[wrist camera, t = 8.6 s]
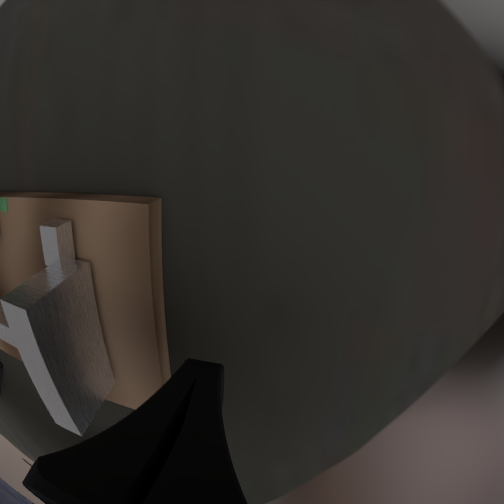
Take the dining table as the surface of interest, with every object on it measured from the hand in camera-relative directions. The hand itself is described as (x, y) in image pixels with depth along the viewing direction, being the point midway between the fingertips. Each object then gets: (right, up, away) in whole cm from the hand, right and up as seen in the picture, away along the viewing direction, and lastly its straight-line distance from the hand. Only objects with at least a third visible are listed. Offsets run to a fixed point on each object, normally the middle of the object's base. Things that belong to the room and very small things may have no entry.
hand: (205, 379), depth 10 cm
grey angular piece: (-10, +3, +2) cm, 10 cm away
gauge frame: (-14, +3, +4) cm, 15 cm away
